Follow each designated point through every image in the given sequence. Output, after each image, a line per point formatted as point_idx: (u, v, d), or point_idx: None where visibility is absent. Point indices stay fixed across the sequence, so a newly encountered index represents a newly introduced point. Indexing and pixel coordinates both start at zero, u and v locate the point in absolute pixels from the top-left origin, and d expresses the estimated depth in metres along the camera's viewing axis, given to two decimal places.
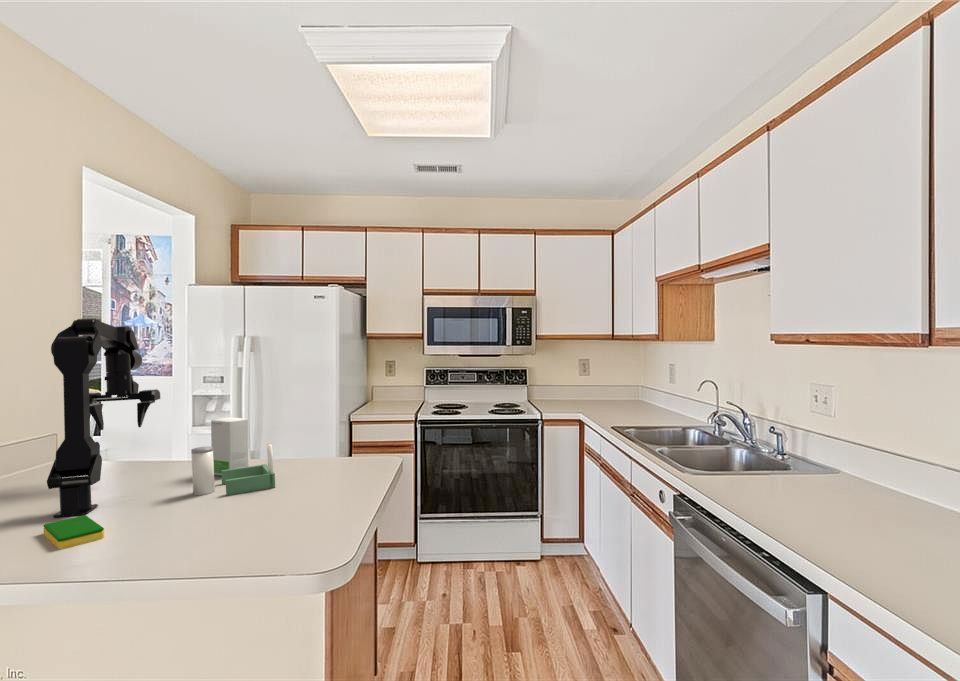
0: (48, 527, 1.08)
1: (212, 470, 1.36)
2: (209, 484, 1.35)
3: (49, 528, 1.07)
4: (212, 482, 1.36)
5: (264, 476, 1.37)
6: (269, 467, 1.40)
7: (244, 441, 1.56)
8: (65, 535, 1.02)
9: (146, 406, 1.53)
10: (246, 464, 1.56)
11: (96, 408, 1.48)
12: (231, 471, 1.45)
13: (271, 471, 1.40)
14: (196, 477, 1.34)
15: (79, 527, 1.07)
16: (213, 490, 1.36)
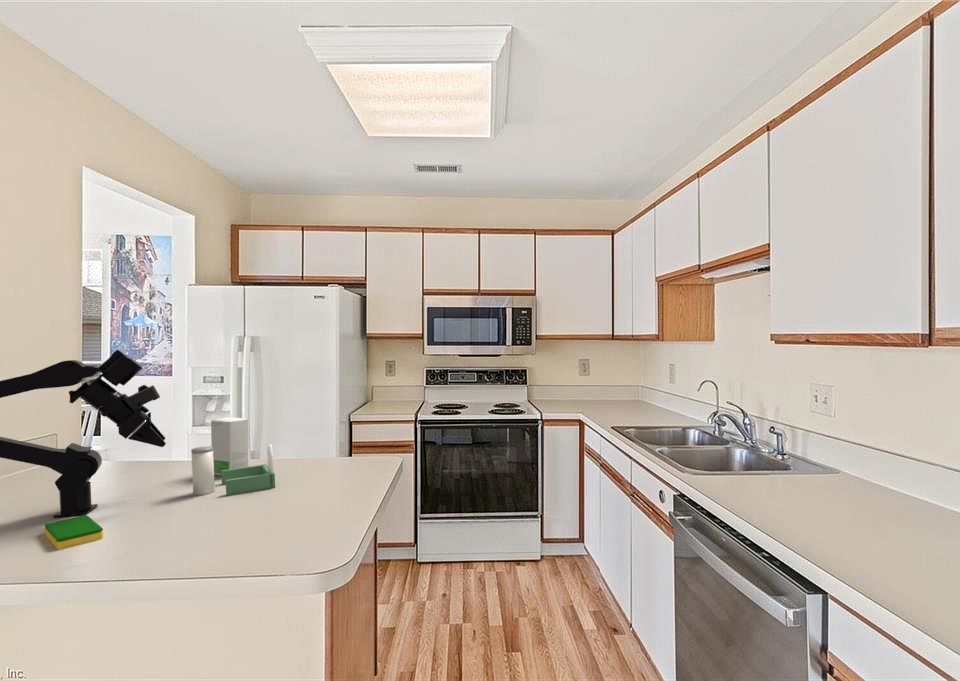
0: (48, 527, 1.08)
1: (212, 470, 1.36)
2: (209, 484, 1.35)
3: (49, 528, 1.07)
4: (212, 482, 1.36)
5: (264, 476, 1.37)
6: (269, 467, 1.40)
7: (244, 441, 1.56)
8: (64, 535, 1.02)
9: (147, 428, 1.25)
10: (246, 464, 1.56)
11: None
12: (231, 471, 1.45)
13: (271, 471, 1.40)
14: (196, 477, 1.34)
15: (79, 527, 1.07)
16: (213, 490, 1.36)
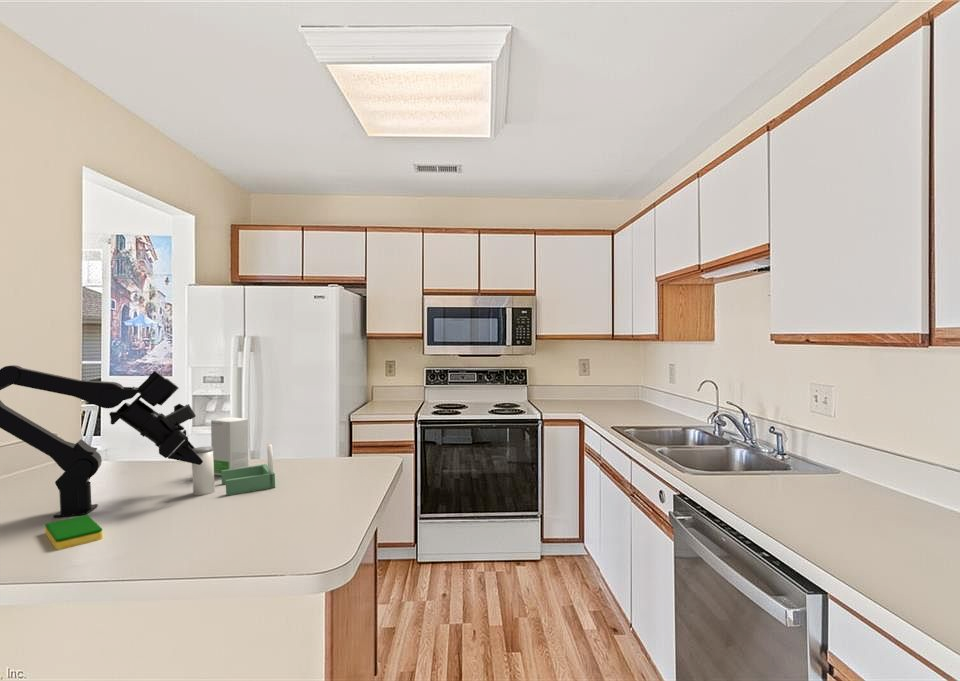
0: (49, 527, 1.08)
1: (212, 470, 1.36)
2: (209, 484, 1.35)
3: (50, 528, 1.07)
4: (212, 482, 1.36)
5: (264, 476, 1.37)
6: (269, 467, 1.40)
7: (244, 441, 1.56)
8: (63, 535, 1.02)
9: (185, 447, 1.29)
10: (246, 464, 1.56)
11: None
12: (231, 471, 1.45)
13: (271, 471, 1.40)
14: (196, 477, 1.34)
15: (78, 527, 1.07)
16: (213, 490, 1.36)
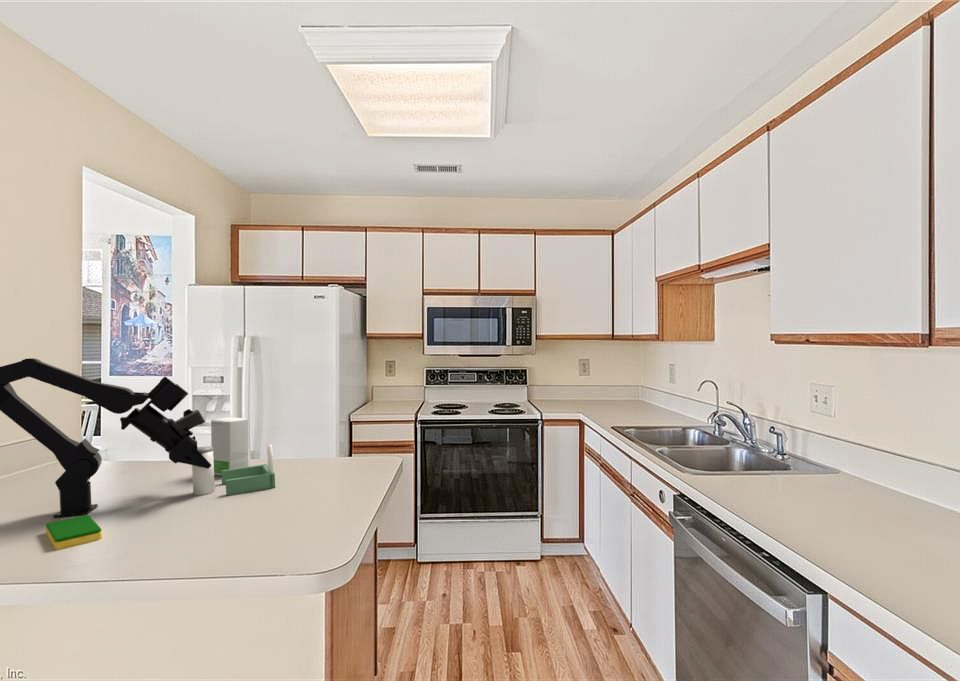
0: (49, 526, 1.08)
1: (212, 470, 1.36)
2: (209, 484, 1.35)
3: (50, 528, 1.07)
4: (212, 482, 1.36)
5: (264, 476, 1.37)
6: (269, 467, 1.40)
7: (244, 441, 1.56)
8: (62, 535, 1.02)
9: (194, 451, 1.32)
10: (246, 464, 1.56)
11: None
12: (231, 471, 1.45)
13: (271, 471, 1.40)
14: (196, 477, 1.34)
15: (78, 527, 1.07)
16: (213, 490, 1.36)
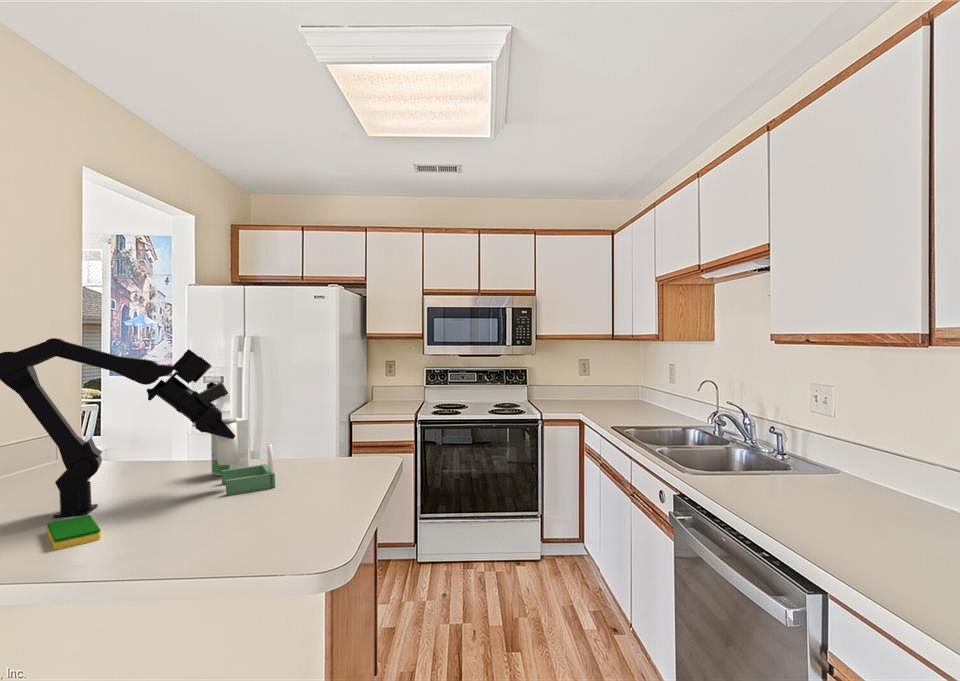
0: (50, 526, 1.08)
1: (236, 441, 1.39)
2: (234, 454, 1.38)
3: (50, 527, 1.07)
4: (236, 452, 1.39)
5: (264, 476, 1.37)
6: (269, 467, 1.40)
7: (244, 441, 1.56)
8: (61, 536, 1.02)
9: (219, 421, 1.35)
10: (246, 464, 1.56)
11: None
12: (231, 471, 1.45)
13: (271, 471, 1.40)
14: (221, 447, 1.37)
15: (78, 527, 1.07)
16: (237, 461, 1.39)
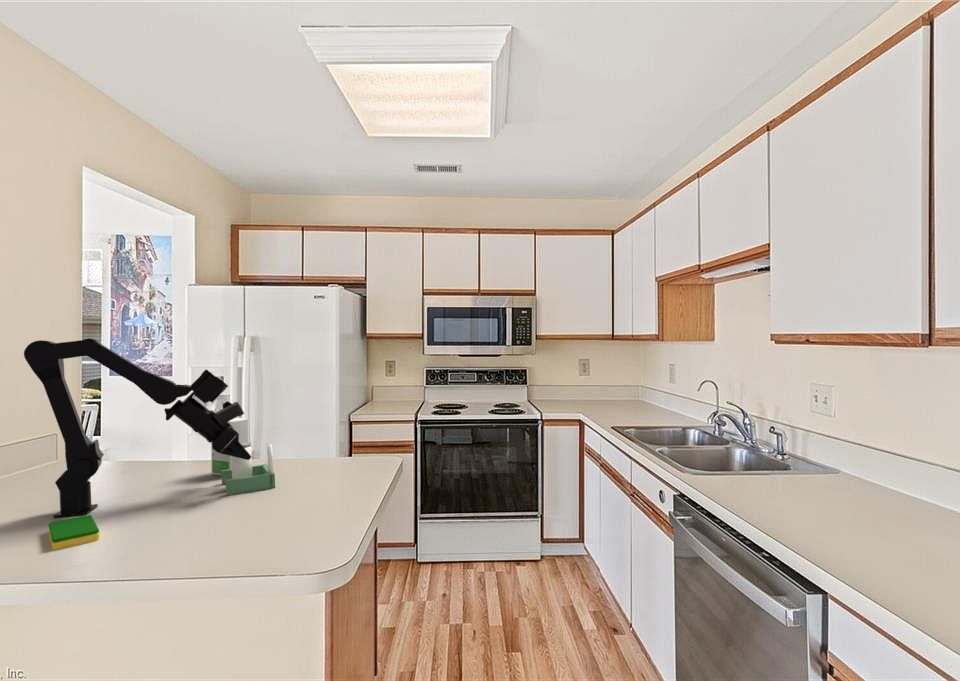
0: (50, 526, 1.08)
1: (250, 465, 1.41)
2: None
3: (51, 527, 1.07)
4: None
5: (264, 476, 1.37)
6: (269, 467, 1.40)
7: (244, 441, 1.56)
8: (60, 536, 1.02)
9: (235, 443, 1.35)
10: None
11: None
12: (231, 471, 1.45)
13: (271, 471, 1.40)
14: (236, 471, 1.39)
15: (77, 528, 1.06)
16: None
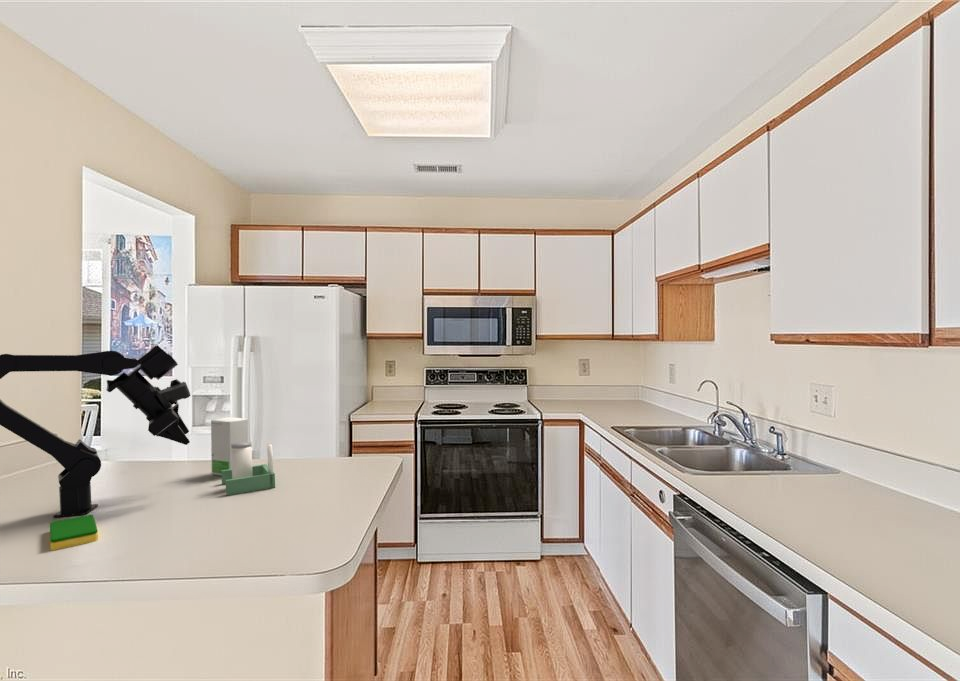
0: (51, 526, 1.08)
1: (251, 465, 1.41)
2: None
3: (51, 527, 1.08)
4: None
5: (264, 476, 1.37)
6: (269, 467, 1.40)
7: (244, 441, 1.56)
8: (58, 536, 1.02)
9: (174, 426, 1.31)
10: None
11: None
12: (231, 471, 1.45)
13: (271, 471, 1.40)
14: (236, 471, 1.39)
15: (77, 528, 1.06)
16: None
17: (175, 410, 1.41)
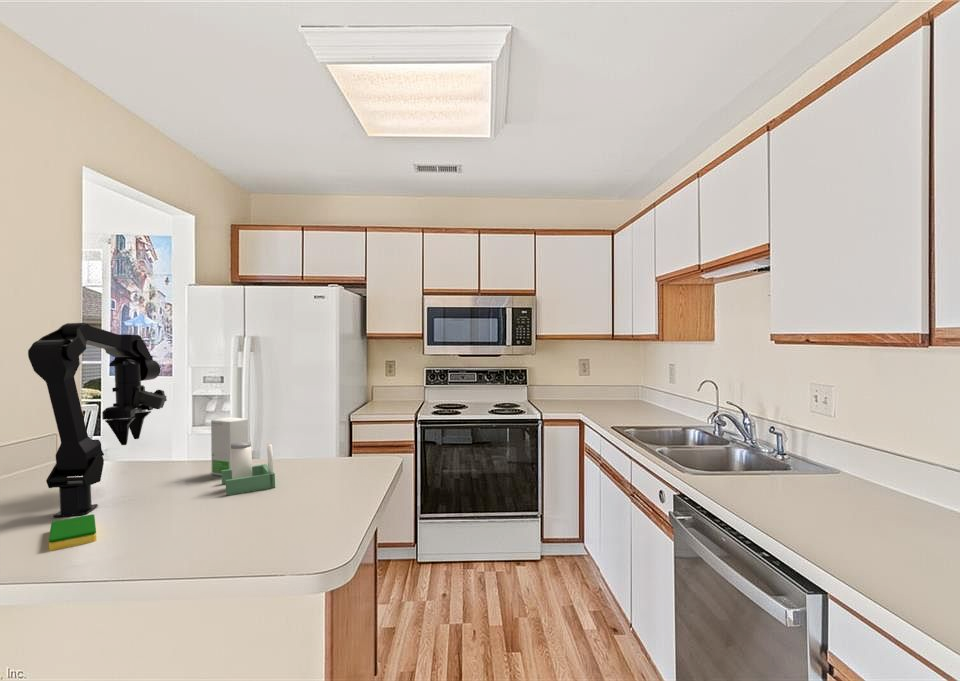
0: (52, 525, 1.09)
1: (251, 465, 1.41)
2: None
3: (52, 527, 1.08)
4: None
5: (264, 476, 1.37)
6: (269, 467, 1.40)
7: (244, 441, 1.56)
8: (57, 536, 1.02)
9: (124, 423, 1.39)
10: None
11: None
12: (231, 471, 1.45)
13: (271, 471, 1.40)
14: (236, 471, 1.39)
15: (76, 528, 1.06)
16: None
17: (143, 414, 1.50)
